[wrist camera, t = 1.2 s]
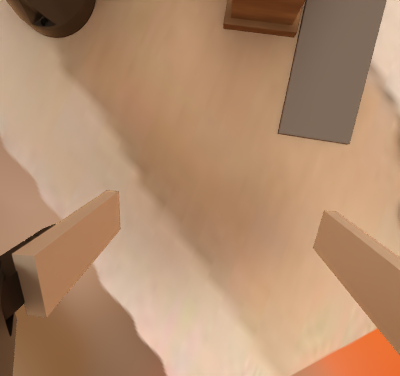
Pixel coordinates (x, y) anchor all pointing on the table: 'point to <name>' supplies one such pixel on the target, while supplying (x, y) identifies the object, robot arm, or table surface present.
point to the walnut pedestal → (264, 16)
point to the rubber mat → (330, 68)
